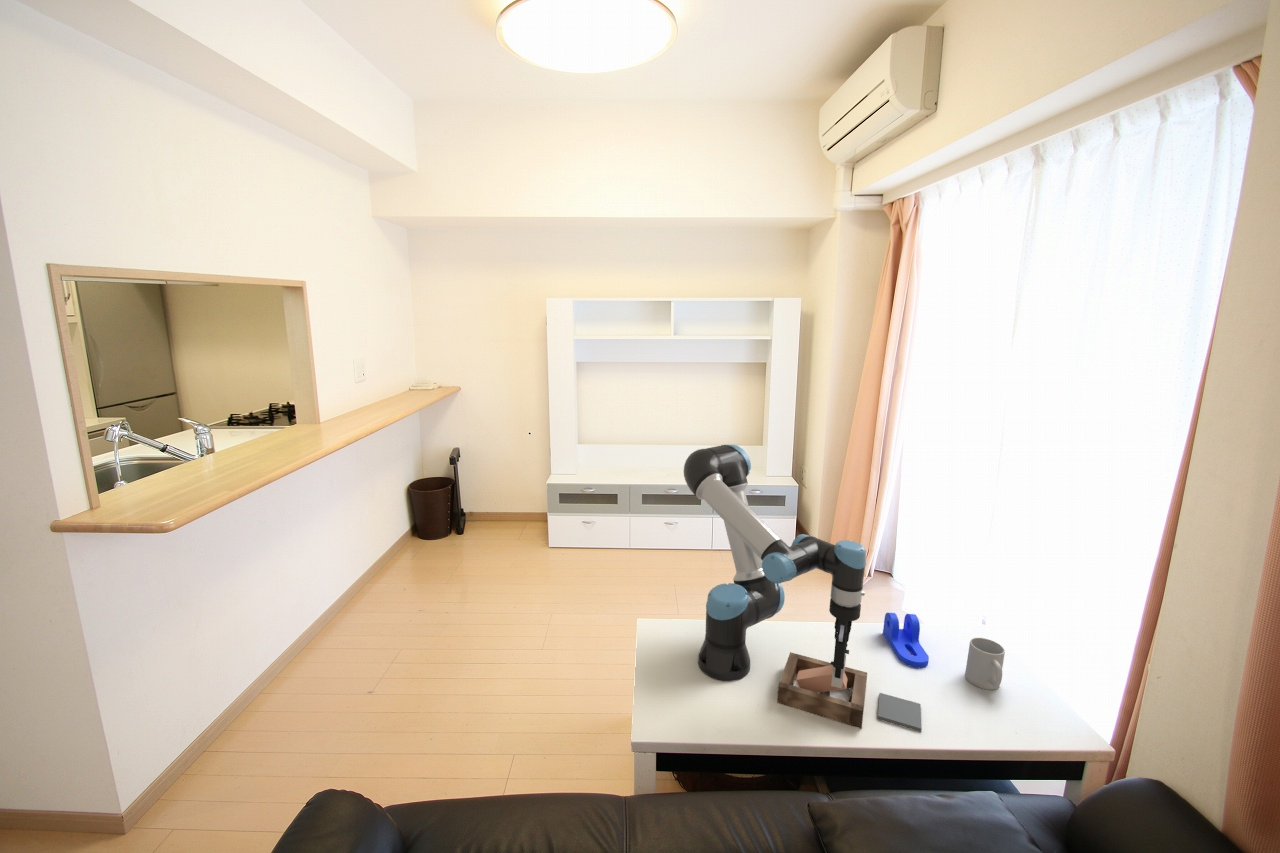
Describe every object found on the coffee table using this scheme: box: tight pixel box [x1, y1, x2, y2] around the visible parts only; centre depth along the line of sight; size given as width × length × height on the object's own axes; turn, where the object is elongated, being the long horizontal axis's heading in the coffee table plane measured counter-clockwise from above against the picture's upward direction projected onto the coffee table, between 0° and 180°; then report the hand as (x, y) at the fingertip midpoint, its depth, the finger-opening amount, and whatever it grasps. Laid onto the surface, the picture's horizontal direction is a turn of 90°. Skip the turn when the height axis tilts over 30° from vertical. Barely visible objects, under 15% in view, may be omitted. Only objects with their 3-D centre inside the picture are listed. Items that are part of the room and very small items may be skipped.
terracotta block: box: [795, 665, 848, 694], centre depth 149 cm, size 12×4×4 cm, turn 64°
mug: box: [964, 637, 1006, 691], centre depth 154 cm, size 12×8×11 cm
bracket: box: [882, 612, 930, 669], centre depth 170 cm, size 18×8×9 cm, turn 175°
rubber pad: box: [877, 692, 923, 733], centre depth 143 cm, size 10×10×1 cm
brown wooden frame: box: [776, 651, 868, 730], centre depth 149 cm, size 21×17×5 cm
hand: (837, 680), depth 147 cm, fingers closed on terracotta block, 4 cm apart
